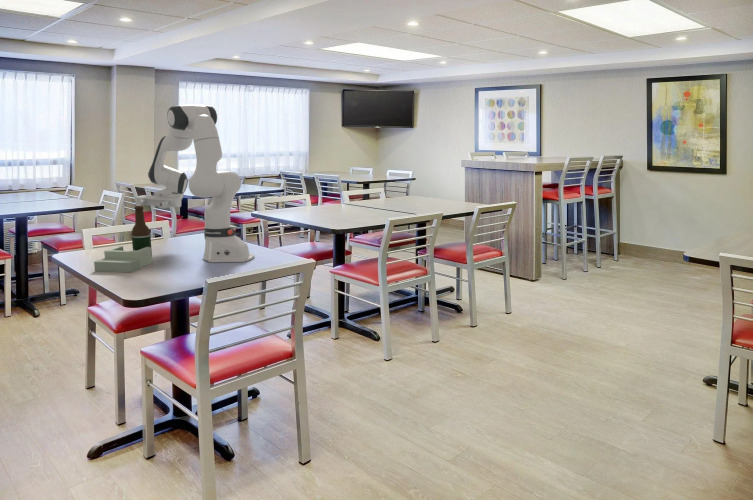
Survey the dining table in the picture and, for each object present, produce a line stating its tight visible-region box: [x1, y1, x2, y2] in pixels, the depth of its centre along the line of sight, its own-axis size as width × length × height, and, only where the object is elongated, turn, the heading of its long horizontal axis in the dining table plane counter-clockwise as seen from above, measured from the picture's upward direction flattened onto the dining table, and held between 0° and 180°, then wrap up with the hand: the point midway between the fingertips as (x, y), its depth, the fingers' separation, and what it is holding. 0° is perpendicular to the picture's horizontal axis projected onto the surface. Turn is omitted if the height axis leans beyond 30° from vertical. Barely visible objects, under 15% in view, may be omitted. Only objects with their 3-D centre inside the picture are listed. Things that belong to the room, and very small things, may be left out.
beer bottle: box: [131, 205, 153, 255], centre depth 266 cm, size 8×8×24 cm
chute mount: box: [93, 245, 153, 273], centre depth 254 cm, size 16×18×7 cm
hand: (151, 203), depth 275 cm, fingers open, 8 cm apart
